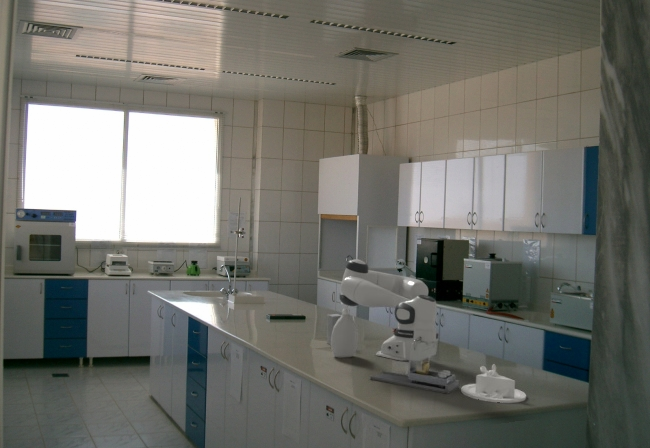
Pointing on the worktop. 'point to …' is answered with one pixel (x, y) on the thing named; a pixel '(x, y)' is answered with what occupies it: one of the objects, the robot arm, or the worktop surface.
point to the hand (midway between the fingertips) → (422, 369)
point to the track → (404, 380)
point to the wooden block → (425, 368)
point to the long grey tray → (428, 376)
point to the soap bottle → (344, 336)
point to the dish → (493, 388)
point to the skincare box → (331, 325)
